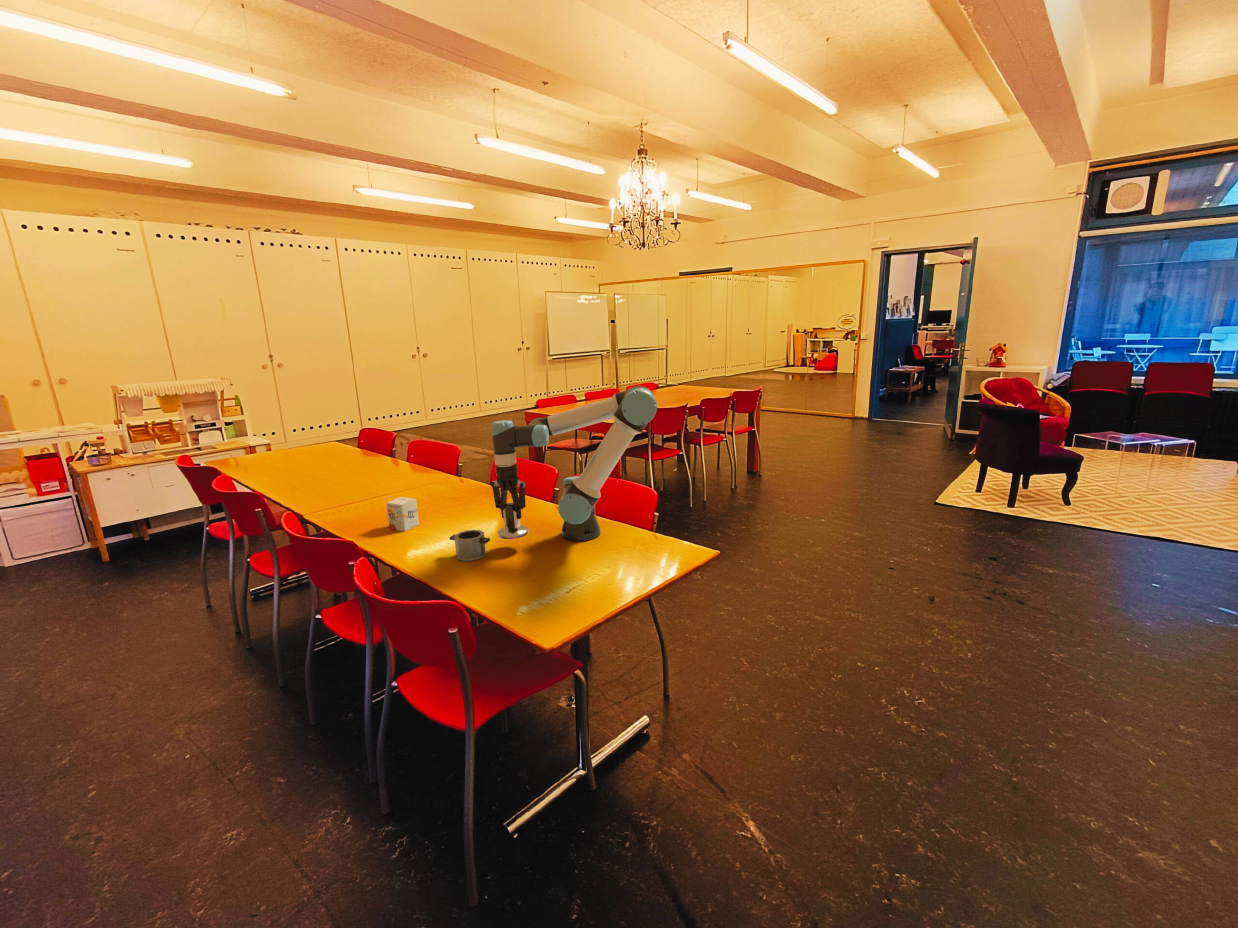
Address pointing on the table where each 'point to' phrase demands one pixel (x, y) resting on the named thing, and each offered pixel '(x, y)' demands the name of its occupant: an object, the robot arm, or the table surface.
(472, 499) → the table surface
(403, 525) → the ink box
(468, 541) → the pot
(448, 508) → the table surface
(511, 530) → the lid
